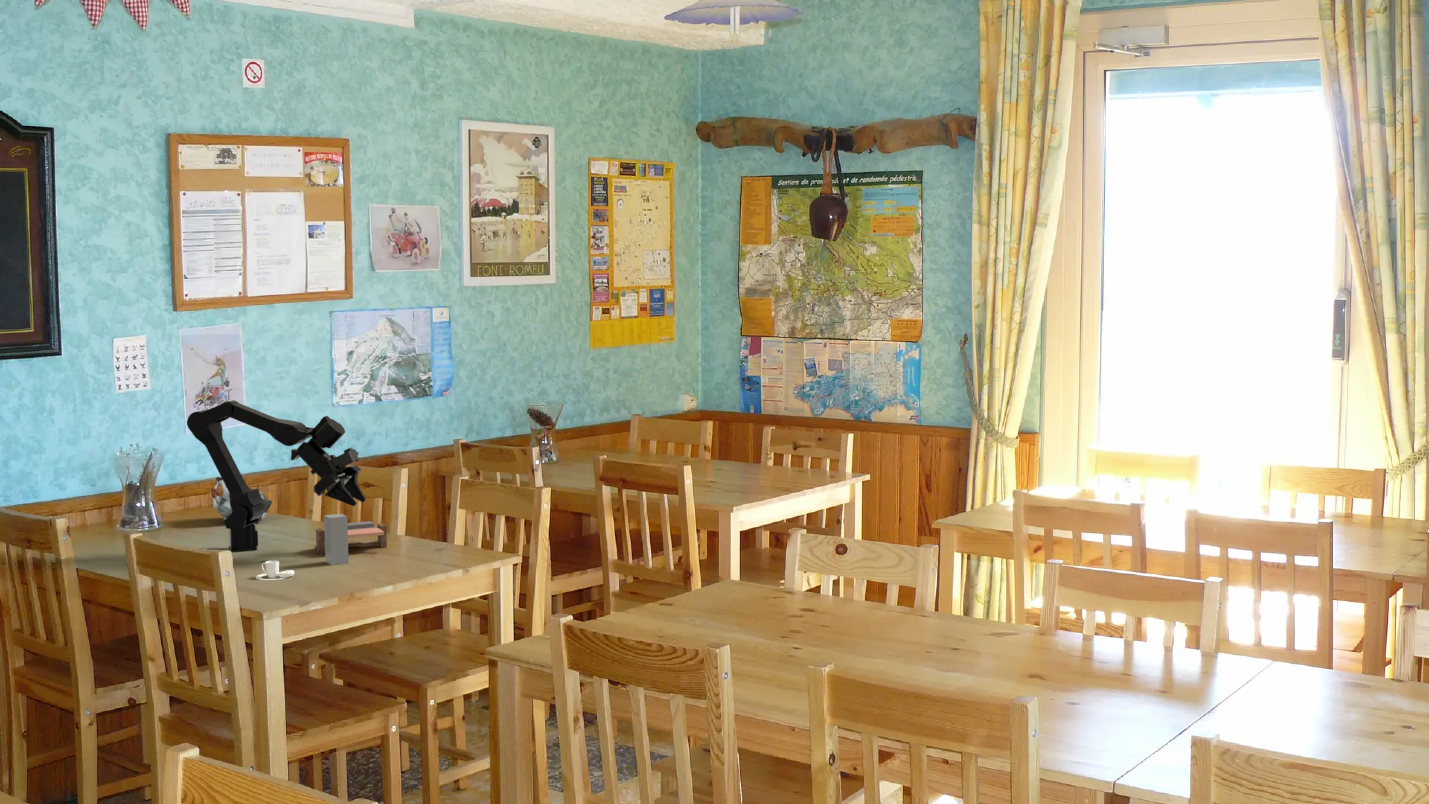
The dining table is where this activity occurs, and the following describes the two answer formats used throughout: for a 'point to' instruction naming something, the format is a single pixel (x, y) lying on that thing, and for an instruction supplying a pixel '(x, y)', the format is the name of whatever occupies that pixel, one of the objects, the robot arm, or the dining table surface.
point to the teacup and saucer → (274, 571)
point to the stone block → (336, 539)
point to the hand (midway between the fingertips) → (359, 503)
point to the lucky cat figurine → (222, 499)
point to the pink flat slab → (363, 529)
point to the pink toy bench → (381, 542)
